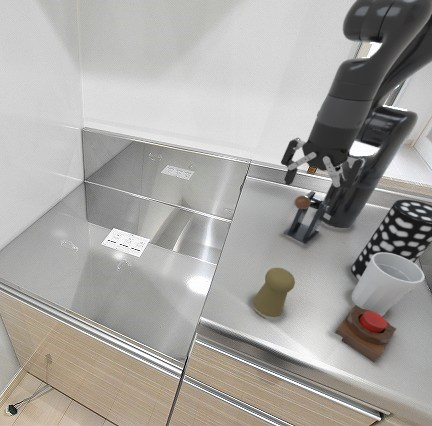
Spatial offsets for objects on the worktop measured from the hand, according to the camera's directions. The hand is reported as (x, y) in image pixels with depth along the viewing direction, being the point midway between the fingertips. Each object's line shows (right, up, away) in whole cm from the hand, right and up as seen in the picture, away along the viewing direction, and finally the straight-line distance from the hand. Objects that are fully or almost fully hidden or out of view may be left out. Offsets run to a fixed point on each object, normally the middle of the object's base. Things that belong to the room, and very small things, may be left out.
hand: (307, 191), depth 66 cm
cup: (+12, -25, -2) cm, 28 cm away
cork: (-11, -26, -2) cm, 28 cm away
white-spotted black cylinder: (+17, -21, +4) cm, 27 cm away
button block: (+6, -29, -8) cm, 31 cm away
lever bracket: (+9, -11, +17) cm, 22 cm away
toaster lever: (+4, -4, +6) cm, 8 cm away
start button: (+6, -26, -10) cm, 29 cm away
